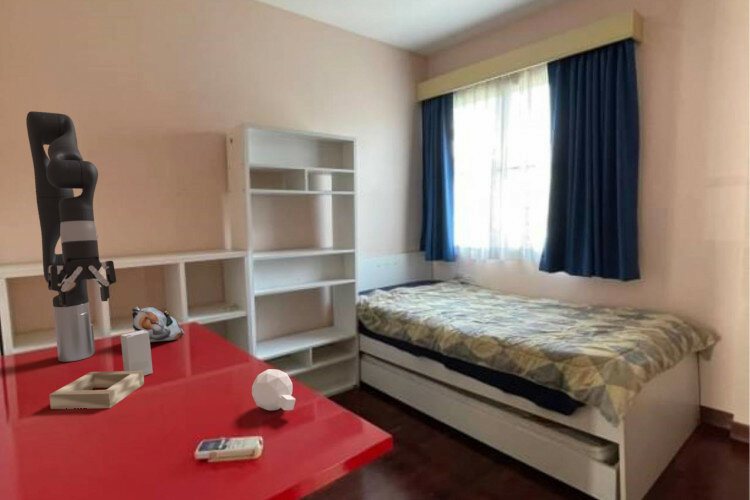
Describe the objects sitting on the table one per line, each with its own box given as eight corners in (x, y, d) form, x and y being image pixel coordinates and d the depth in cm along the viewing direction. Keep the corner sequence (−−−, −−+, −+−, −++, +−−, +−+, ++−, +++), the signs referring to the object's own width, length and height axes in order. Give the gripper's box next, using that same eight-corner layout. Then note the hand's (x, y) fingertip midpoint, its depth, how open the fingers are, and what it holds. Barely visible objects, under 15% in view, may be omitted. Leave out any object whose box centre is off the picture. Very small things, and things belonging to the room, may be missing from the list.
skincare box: (146, 370, 123) (143, 329, 122) (153, 373, 120) (150, 331, 119) (123, 377, 118) (119, 334, 117) (129, 380, 115) (125, 336, 114)
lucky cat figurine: (191, 337, 155) (178, 304, 146) (156, 360, 146) (140, 328, 137) (167, 318, 164) (153, 287, 155) (133, 340, 155) (116, 307, 146)
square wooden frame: (91, 384, 113) (90, 372, 113) (144, 383, 113) (143, 370, 112) (50, 409, 99) (49, 394, 99) (110, 408, 99) (108, 393, 98)
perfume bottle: (239, 401, 96) (266, 425, 87) (251, 361, 96) (279, 382, 88) (272, 400, 102) (300, 423, 93) (283, 363, 102) (312, 382, 94)
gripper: (104, 239, 115) (109, 299, 116) (39, 242, 104) (46, 308, 104) (116, 237, 111) (122, 299, 111) (51, 240, 99) (57, 309, 100)
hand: (85, 304), depth 108 cm, fingers open, 8 cm apart
